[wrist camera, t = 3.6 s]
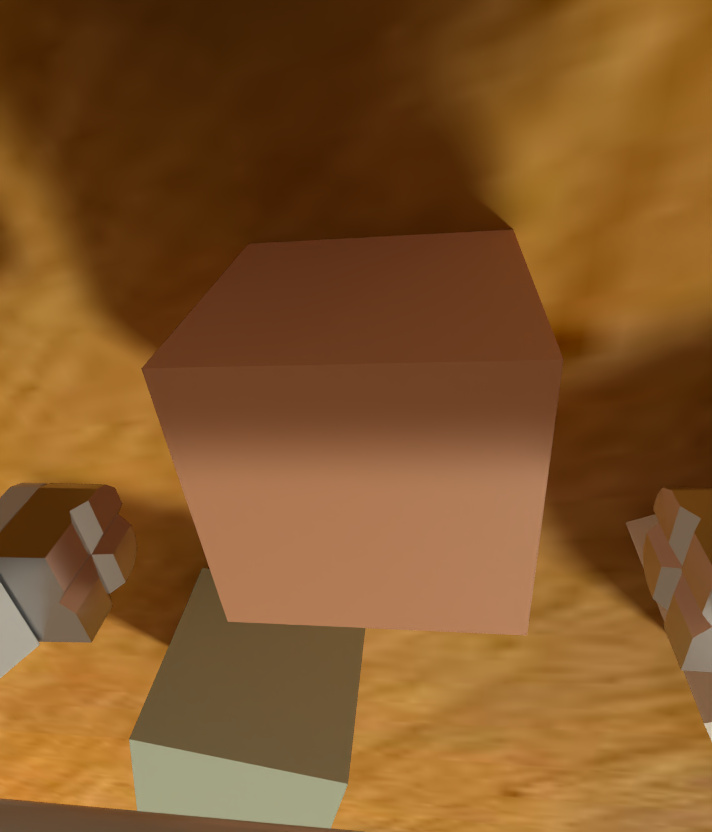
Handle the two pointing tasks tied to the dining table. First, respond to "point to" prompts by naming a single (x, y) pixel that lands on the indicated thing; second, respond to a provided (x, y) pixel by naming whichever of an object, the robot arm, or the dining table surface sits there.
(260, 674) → the sage green cube
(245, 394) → the terracotta cube
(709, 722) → the off-white cube
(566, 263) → the dining table surface
